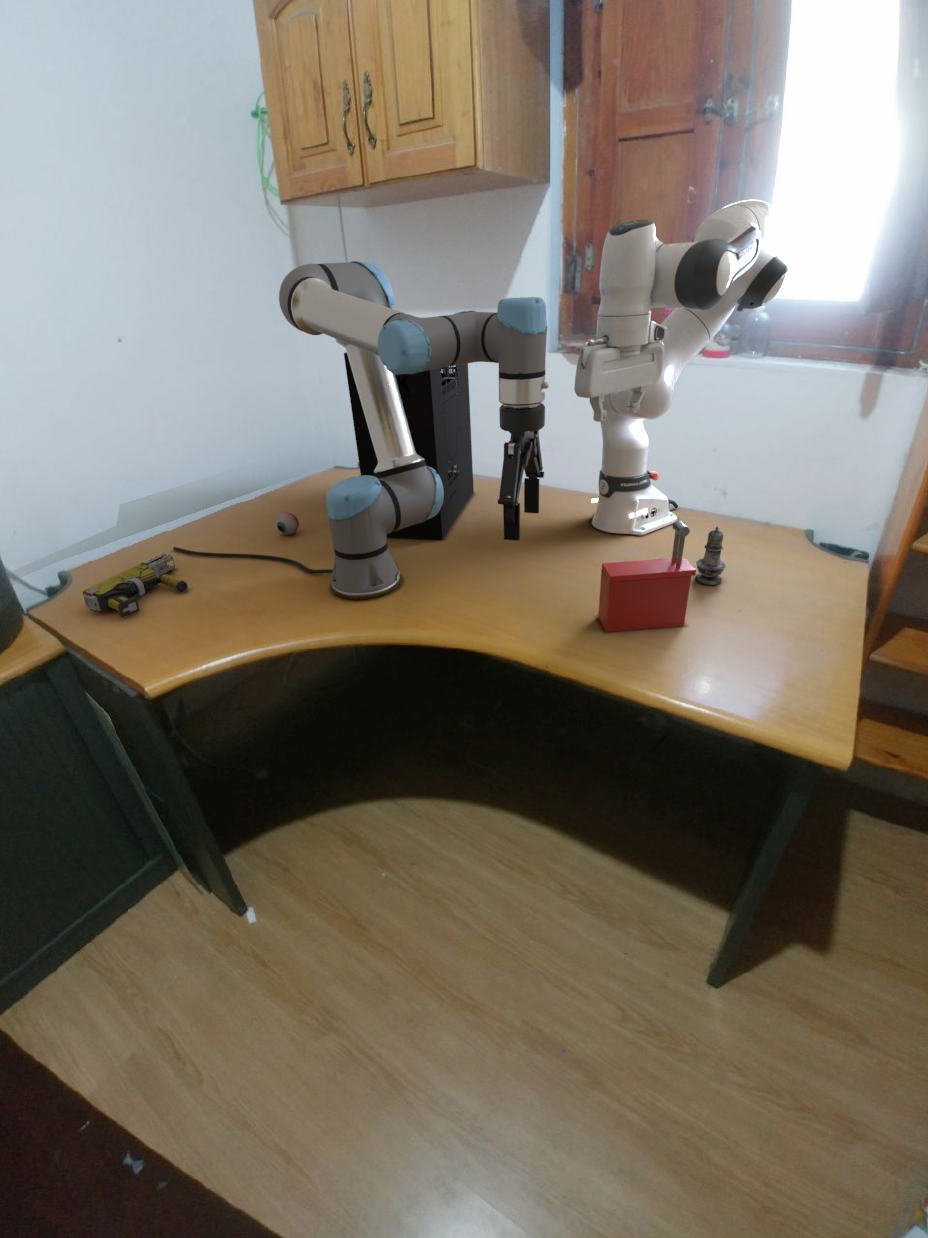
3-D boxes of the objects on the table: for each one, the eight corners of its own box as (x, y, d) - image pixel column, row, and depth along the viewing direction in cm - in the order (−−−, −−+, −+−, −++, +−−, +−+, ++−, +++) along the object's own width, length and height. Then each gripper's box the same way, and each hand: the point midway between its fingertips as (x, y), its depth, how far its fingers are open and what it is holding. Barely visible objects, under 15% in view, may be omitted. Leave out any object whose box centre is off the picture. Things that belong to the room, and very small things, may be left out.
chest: (672, 611, 119) (679, 563, 113) (683, 625, 114) (691, 576, 109) (598, 617, 118) (601, 569, 113) (606, 632, 113) (609, 582, 108)
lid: (683, 562, 113) (690, 516, 109) (695, 575, 109) (703, 528, 104) (601, 568, 113) (604, 522, 108) (609, 582, 108) (613, 534, 103)
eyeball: (273, 537, 164) (268, 516, 161) (287, 528, 169) (282, 508, 166) (291, 539, 161) (286, 518, 158) (305, 530, 166) (301, 510, 163)
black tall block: (442, 539, 156) (428, 350, 134) (369, 536, 161) (343, 353, 138) (473, 492, 188) (466, 333, 165) (411, 491, 192) (396, 335, 170)
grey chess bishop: (725, 585, 126) (735, 532, 120) (695, 584, 127) (704, 531, 121) (720, 573, 131) (730, 521, 125) (692, 572, 132) (700, 520, 126)
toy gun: (211, 561, 143) (160, 551, 147) (132, 605, 123) (75, 591, 127) (214, 579, 146) (164, 568, 150) (137, 625, 126) (81, 610, 130)
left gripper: (524, 421, 88) (524, 554, 98) (560, 390, 108) (557, 503, 119) (476, 419, 90) (481, 550, 101) (520, 389, 110) (520, 501, 121)
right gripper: (596, 340, 96) (592, 428, 103) (673, 328, 107) (664, 409, 114) (567, 338, 100) (564, 423, 107) (643, 327, 111) (636, 405, 118)
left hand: (522, 525), depth 110 cm, fingers open, 13 cm apart
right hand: (616, 416), depth 111 cm, fingers open, 8 cm apart
